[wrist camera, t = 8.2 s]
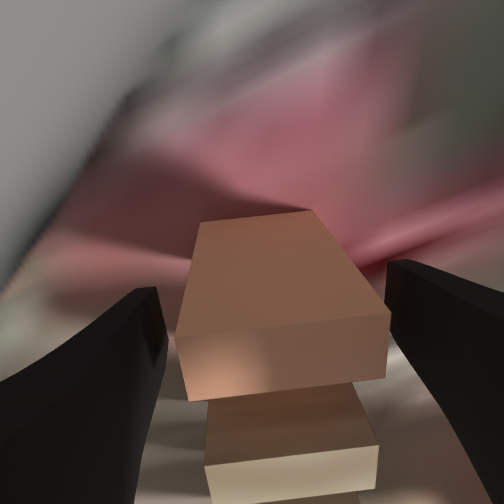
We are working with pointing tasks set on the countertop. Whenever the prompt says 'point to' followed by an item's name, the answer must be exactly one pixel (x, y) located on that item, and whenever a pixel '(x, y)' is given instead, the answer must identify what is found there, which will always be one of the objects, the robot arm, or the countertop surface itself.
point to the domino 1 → (276, 310)
